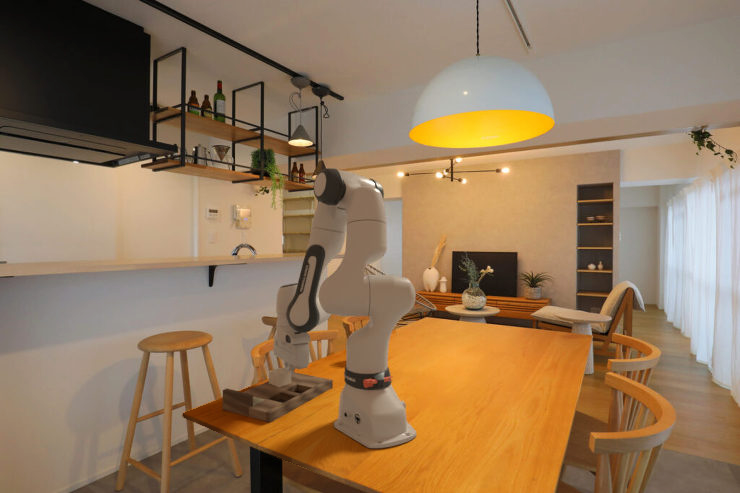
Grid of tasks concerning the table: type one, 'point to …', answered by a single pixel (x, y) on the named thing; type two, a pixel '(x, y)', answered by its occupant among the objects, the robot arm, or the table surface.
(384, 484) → the table surface
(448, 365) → the table surface
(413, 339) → the table surface
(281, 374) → the block
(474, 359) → the table surface
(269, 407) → the wooden compartment tray
